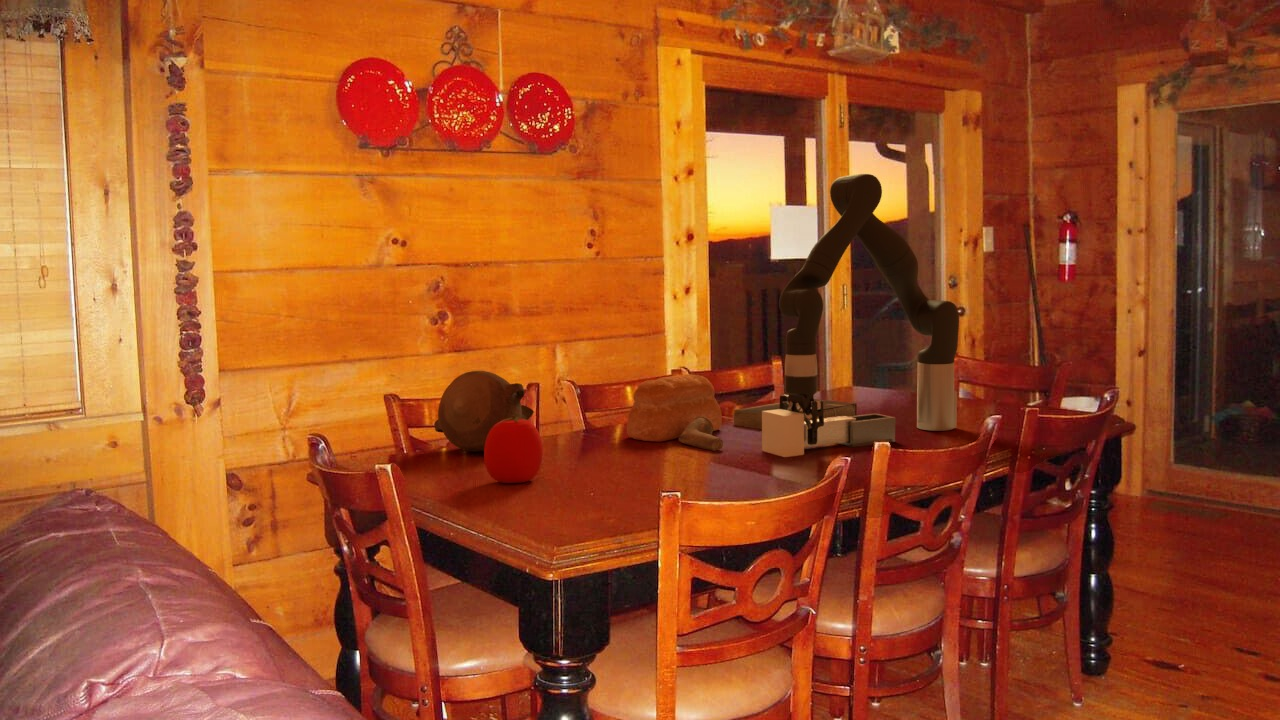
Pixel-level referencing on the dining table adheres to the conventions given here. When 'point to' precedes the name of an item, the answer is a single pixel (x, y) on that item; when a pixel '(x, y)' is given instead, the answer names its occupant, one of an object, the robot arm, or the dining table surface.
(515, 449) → the tomato
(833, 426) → the beige rectangular block
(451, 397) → the jug
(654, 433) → the bread
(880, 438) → the sleeve
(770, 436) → the tan block
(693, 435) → the pipe
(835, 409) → the grey shallow rectangular piece
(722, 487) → the dining table surface
